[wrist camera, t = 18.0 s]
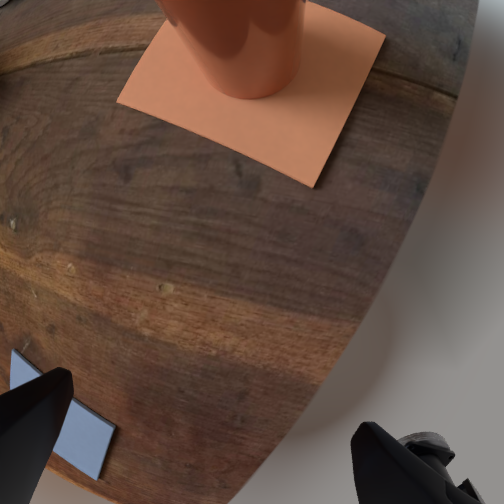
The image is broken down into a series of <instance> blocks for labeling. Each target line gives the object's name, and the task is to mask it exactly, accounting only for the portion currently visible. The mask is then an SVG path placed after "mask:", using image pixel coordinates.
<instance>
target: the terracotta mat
mask: <svg viewBox="0 0 504 504" xmlns="http://www.w3.org/2000/svg"><path fill="white" fill-rule="evenodd" d="M385 37H386V35H384V34H382V33H380V32H379V31H377V30H375V29H373V28H371V27H368V26H366V25H364V24H362V23H360V22H358V21H356V20H354V19H351V18H349V17H347V16H345V15H342V14H340V13H338V12H335V11H333V10H330V9H328V8H325V7H323V6H320V5H318V4H315V3H312V2H309V1H307V0H306V6H305V19H304V32H303V44H302V56H301V64H300V68H299V70H298V72H297V74H296V76H295V77H294V79H293V80H292V81H291V82H290V83H289V84H288V85H287V86H286V87H284V88H283V89H282V90H280V91H278V92H276V93H274V94H272V95H269V96H266V97H262V98H257V99H239V98H234V97H230V96H227V95H225V94H223V93H221V92H219V91H218V90H216V89H215V88H214V87H212V86H211V85H210V83H209V82H208V81H207V79H206V78H205V76H204V75H203V73H202V72H201V70H200V68H199V67H198V65H197V64H196V62H195V61H194V59H193V57H192V56H191V54H190V53H189V51H188V50H187V48H186V47H185V45H184V43H183V42H182V40H181V39H180V37H179V36H178V34H177V33H176V31H175V30H174V28H173V27H172V25H171V24H170V22H169V21H168V19H167V20H166V21H165V23H164V24H163V26H162V27H161V28H160V30H159V31H158V33H157V34H156V36H155V37H154V39H153V40H152V42H151V43H150V45H149V47H148V48H147V50H146V51H145V53H144V54H143V56H142V58H141V59H140V61H139V63H138V64H137V66H136V68H135V69H134V71H133V73H132V74H131V76H130V78H129V80H128V81H127V83H126V85H125V87H124V88H123V90H122V92H121V94H120V96H119V98H118V100H117V103H119V104H122V105H124V106H127V107H130V108H133V109H135V110H138V111H141V112H143V113H146V114H148V115H151V116H154V117H156V118H159V119H161V120H164V121H166V122H169V123H171V124H174V125H176V126H179V127H181V128H184V129H186V130H188V131H191V132H193V133H195V134H198V135H200V136H202V137H205V138H207V139H209V140H212V141H214V142H216V143H219V144H221V145H223V146H225V147H227V148H230V149H232V150H234V151H236V152H238V153H241V154H243V155H245V156H247V157H249V158H251V159H254V160H256V161H258V162H260V163H262V164H264V165H266V166H268V167H270V168H272V169H274V170H276V171H278V172H280V173H282V174H285V175H287V176H289V177H291V178H292V179H294V180H296V181H298V182H300V183H302V184H304V185H306V186H308V187H310V188H313V187H314V185H315V183H316V181H317V179H318V177H319V175H320V173H321V171H322V169H323V167H324V165H325V163H326V161H327V159H328V157H329V155H330V153H331V151H332V149H333V147H334V145H335V143H336V141H337V139H338V137H339V135H340V133H341V131H342V129H343V126H344V124H345V122H346V120H347V118H348V116H349V114H350V112H351V110H352V108H353V106H354V104H355V102H356V99H357V97H358V95H359V93H360V91H361V89H362V87H363V85H364V83H365V80H366V78H367V76H368V74H369V72H370V70H371V68H372V66H373V63H374V61H375V59H376V57H377V55H378V53H379V50H380V48H381V46H382V44H383V42H384V39H385Z"/></svg>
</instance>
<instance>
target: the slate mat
mask: <svg viewBox="0 0 504 504" xmlns="http://www.w3.org/2000/svg"><path fill="white" fill-rule="evenodd" d="M41 375H43V373H41V372H40V371H39V370H38V369H37V368H36V367H34V366H33V365H32V364H31V363H30V362H29V361H27V360H26V359H25V358H24V357H23V356H22V355H21V354H20V353H19V352H18V351H16V350H15V349H13V350H12V356H11V375H10V390H12V389H14V388H16V387H18V386H20V385H22V384H24V383H26V382H28V381H30V380H32V379H34V378H36V377H38V376H41ZM114 429H115V425H113V424H112V423H110V422H109V421H107V420H105V419H104V418H102V417H101V416H99V415H98V414H96V413H95V412H93V411H92V410H90V409H89V408H88V407H86V406H85V405H83V404H82V403H80V402H79V401H78V400H76V399H75V398H72V401H71V404H70V406H69V409H68V412H67V415H66V418H65V421H64V424H63V427H62V430H61V432H60V435H59V437H58V440H57V442H56V444H55V446H54V448H53V451H54V452H56V453H57V454H58V455H60V456H61V457H62V458H64V459H65V460H67V461H68V462H69V463H71V464H72V465H74V466H75V467H77V468H78V469H80V470H81V471H83V472H84V473H86V474H87V475H89V476H90V477H92V478H93V479H95V480H98V478H99V475H100V471H101V468H102V465H103V462H104V459H105V456H106V453H107V450H108V447H109V444H110V441H111V438H112V435H113V432H114Z"/></svg>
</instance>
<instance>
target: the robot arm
mask: <svg viewBox="0 0 504 504" xmlns="http://www.w3.org/2000/svg"><path fill="white" fill-rule="evenodd" d="M73 394H74V388H73V379H72V373H71V371H69V370H67V369H64V368H62V367H57V368H55V369H53V370H51V371H49V372H47V373H45V374H43V375H41V376H38V377H36V378H34V379H32V380H30V381H28V382H26V383H24V384H22V385H20V386H18V387H16V388H14V389H12V390H10V391H8V392H5V393H3V394H1V395H0V504H29V503H30V500H31V498H32V495H33V493H34V491H35V488H36V486H37V484H38V481H39V479H40V477H41V474H42V472H43V470H44V468H45V466H46V463H47V461H48V459H49V457H50V455H51V453H52V450H53V448H54V446H55V444H56V442H57V440H58V437H59V435H60V432H61V430H62V427H63V424H64V421H65V418H66V415H67V412H68V409H69V406H70V404H71V401H72V398H73ZM410 446H411V447H410ZM351 453H352V463H353V473H354V481H355V487H356V491H357V496H358V501H359V504H485V503H484V501H483V499H482V498H481V496H480V495H479V493H478V491H477V490H476V489H475V487H474V486H473V484H472V483H471V482H470V480H469V479H468V478H467V479H466V480H465V481H463V482H462V484H461V485H459V486H458V487H456V486H455V485H454V483H453V481H452V479H451V477H450V476H449V474H448V472H447V470H446V468H445V467H446V466H447V465H448V464H449V463H450V462H451V460H452V459H453V458H454V457H455V453H454V452H453V451H450V450H446V449H442V448H438V447H434V446H430V445H427V444H423V443H419V442H416V441H409V442H407V443H406V444H405V445H404V446H403V445H402V444H401V443H399V442H398V441H397V440H396V439H395V438H393V437H392V436H391V435H390V434H388V433H387V432H386V431H385V430H384V429H382V428H381V427H380V426H379V425H378V424H376V423H375V422H363V423H361V424H360V426H359V428H358V429H357V431H356V432H355V434H354V435H353V437H352V439H351Z"/></svg>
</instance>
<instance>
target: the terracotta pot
mask: <svg viewBox="0 0 504 504" xmlns="http://www.w3.org/2000/svg"><path fill="white" fill-rule="evenodd" d="M155 2H156V3H157V5H158V6H159V7H160V9H161V10H162V12H163V13H164V15H165V16H166V18H167V19H168V21H169V22H170V24H171V25H172V27H173V28H174V30H175V31H176V33H177V34H178V36H179V37H180V39H181V40H182V42H183V43H184V45H185V47H186V48H187V50H188V51H189V53H190V54H191V56H192V57H193V59H194V61H195V62H196V64H197V65H198V67H199V68H200V70H201V72H202V73H203V75H204V76H205V78H206V79H207V81H208V82H209V83H210V85H211V86H212V87H214V88H215V89H216V90H218V91H219V92H221V93H223V94H225V95H227V96H230V97H234V98H239V99H257V98H262V97H266V96H269V95H272V94H274V93H276V92H278V91H280V90H282V89H283V88H284V87H286V86H287V85H288V84H289V83H290V82H291V81H292V80H293V79H294V77H295V76H296V74H297V72H298V70H299V68H300V64H301V56H302V44H303V32H304V19H305V6H306V0H155Z"/></svg>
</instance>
